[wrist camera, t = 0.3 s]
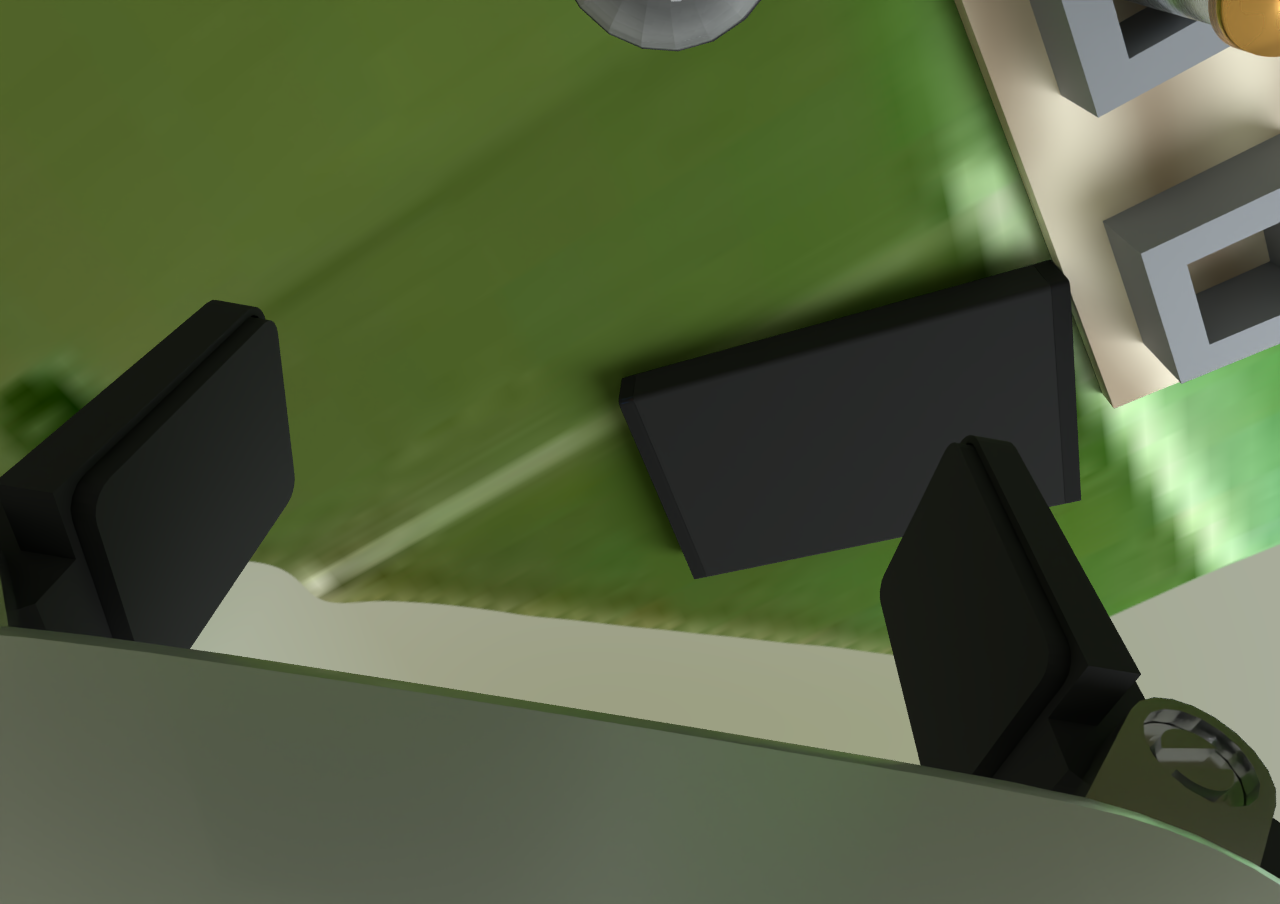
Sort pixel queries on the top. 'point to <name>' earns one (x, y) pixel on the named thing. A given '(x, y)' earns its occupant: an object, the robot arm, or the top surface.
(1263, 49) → the pin
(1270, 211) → the dock socket
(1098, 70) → the lock mount
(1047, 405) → the external hard drive
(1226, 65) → the dock board
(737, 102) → the top surface
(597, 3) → the beverage cup
